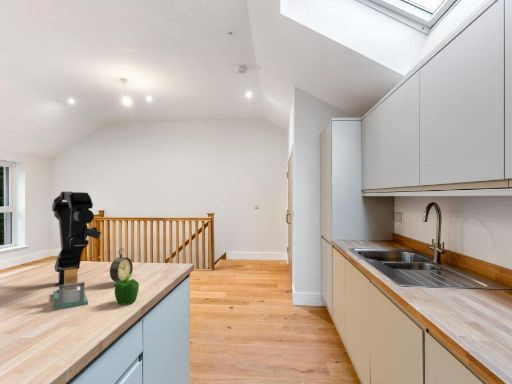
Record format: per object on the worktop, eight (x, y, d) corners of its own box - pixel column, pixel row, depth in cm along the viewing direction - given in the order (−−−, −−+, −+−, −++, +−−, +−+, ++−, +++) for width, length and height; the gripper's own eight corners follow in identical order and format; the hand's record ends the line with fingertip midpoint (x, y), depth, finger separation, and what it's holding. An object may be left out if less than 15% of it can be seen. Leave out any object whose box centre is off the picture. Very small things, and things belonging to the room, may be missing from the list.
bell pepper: (127, 308, 103) (128, 279, 103) (109, 305, 105) (110, 277, 106) (143, 300, 111) (144, 274, 111) (126, 297, 113) (127, 272, 114)
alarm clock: (117, 287, 126) (118, 250, 126) (106, 286, 127) (107, 249, 127) (133, 281, 136) (134, 246, 137) (123, 280, 138) (124, 245, 138)
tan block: (63, 296, 109) (64, 268, 109) (76, 294, 111) (77, 267, 112) (65, 305, 101) (66, 274, 101) (78, 302, 103) (79, 273, 103)
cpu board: (53, 294, 116) (54, 274, 116) (82, 290, 122) (83, 271, 122) (54, 310, 100) (55, 286, 100) (87, 304, 105) (88, 282, 106)
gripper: (103, 223, 118) (102, 261, 117) (97, 220, 133) (96, 254, 133) (70, 224, 111) (69, 265, 111) (68, 221, 127) (67, 256, 126)
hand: (77, 259), depth 120 cm, fingers open, 9 cm apart
